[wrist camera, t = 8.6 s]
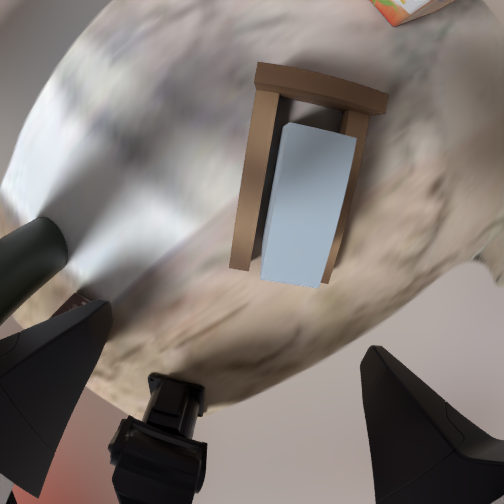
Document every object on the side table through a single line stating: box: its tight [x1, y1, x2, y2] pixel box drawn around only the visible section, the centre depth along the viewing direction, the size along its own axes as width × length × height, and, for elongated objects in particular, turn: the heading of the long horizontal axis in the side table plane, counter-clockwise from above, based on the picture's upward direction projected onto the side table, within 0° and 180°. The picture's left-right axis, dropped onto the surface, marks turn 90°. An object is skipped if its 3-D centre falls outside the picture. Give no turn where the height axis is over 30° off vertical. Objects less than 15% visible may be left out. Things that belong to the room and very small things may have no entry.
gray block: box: [260, 122, 357, 288], centre depth 16 cm, size 8×3×6 cm, turn 171°
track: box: [229, 62, 388, 284], centre depth 16 cm, size 13×7×4 cm, turn 171°
